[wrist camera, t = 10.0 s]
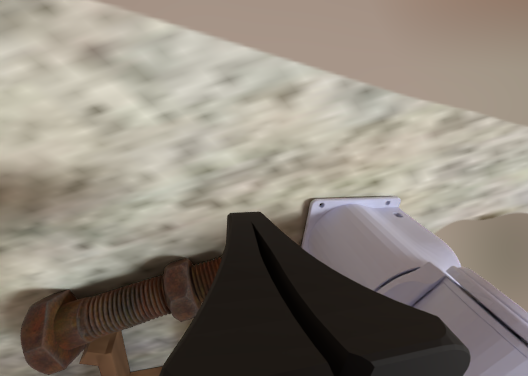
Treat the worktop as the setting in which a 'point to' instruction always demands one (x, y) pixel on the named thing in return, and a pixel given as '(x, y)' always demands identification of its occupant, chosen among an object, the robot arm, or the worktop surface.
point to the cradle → (112, 357)
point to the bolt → (110, 312)
